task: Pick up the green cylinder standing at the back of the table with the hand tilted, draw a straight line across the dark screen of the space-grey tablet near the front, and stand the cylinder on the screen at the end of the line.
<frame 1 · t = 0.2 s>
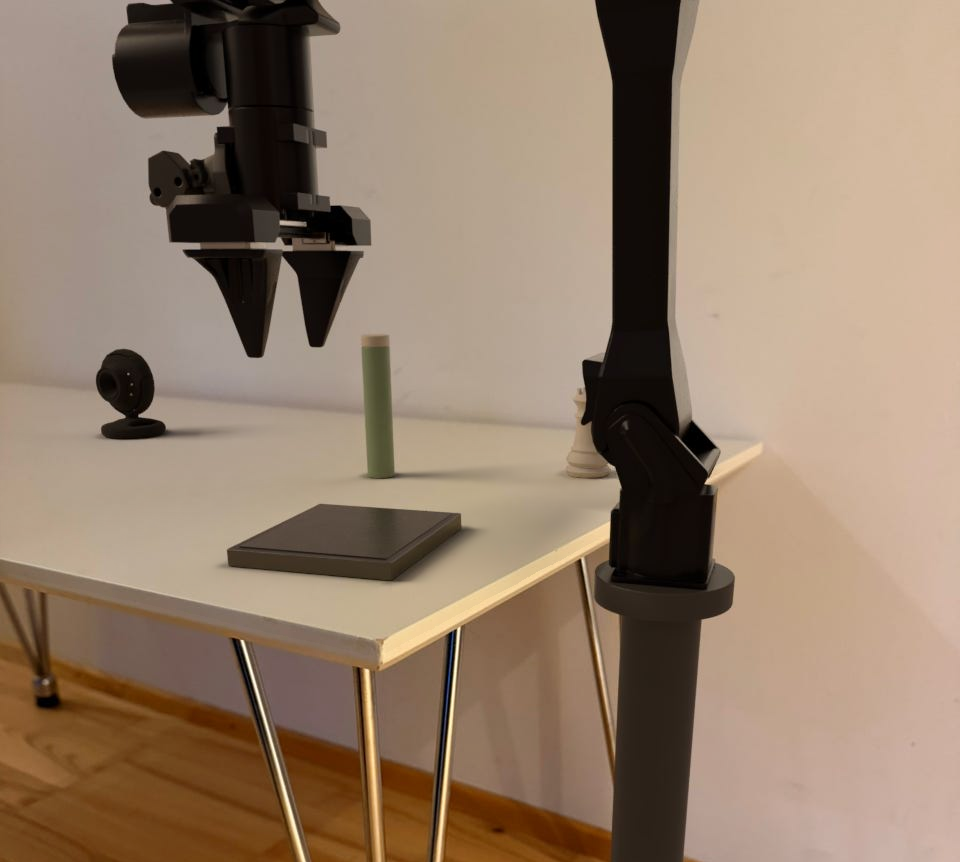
hand: (287, 352, 72), 13 cm above the table, tool pointing down, fingers open, 9 cm apart
green cylinder: (381, 475, 95), on the table
tablet: (352, 546, 71), on the table
rook chess piece: (587, 475, 95), on the table
webcam: (134, 435, 119), on the table
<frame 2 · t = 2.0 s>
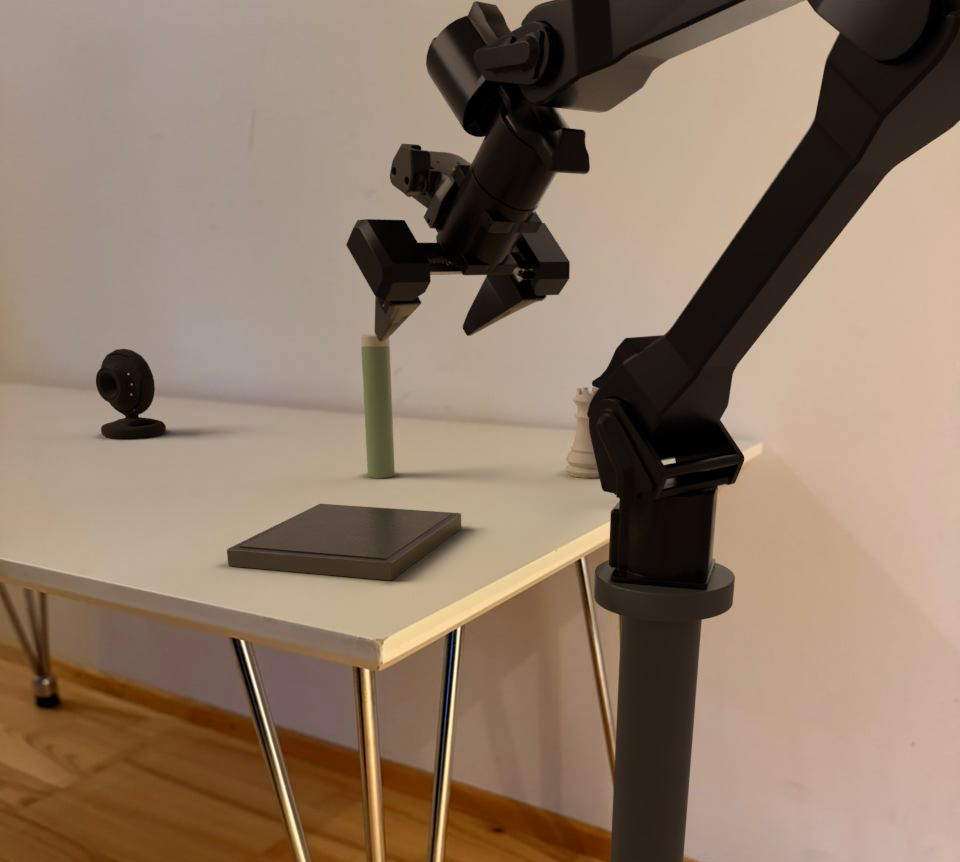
hand: (423, 334, 84), 13 cm above the table, tool tilted 45°, fingers open, 9 cm apart
nothing on the table moved.
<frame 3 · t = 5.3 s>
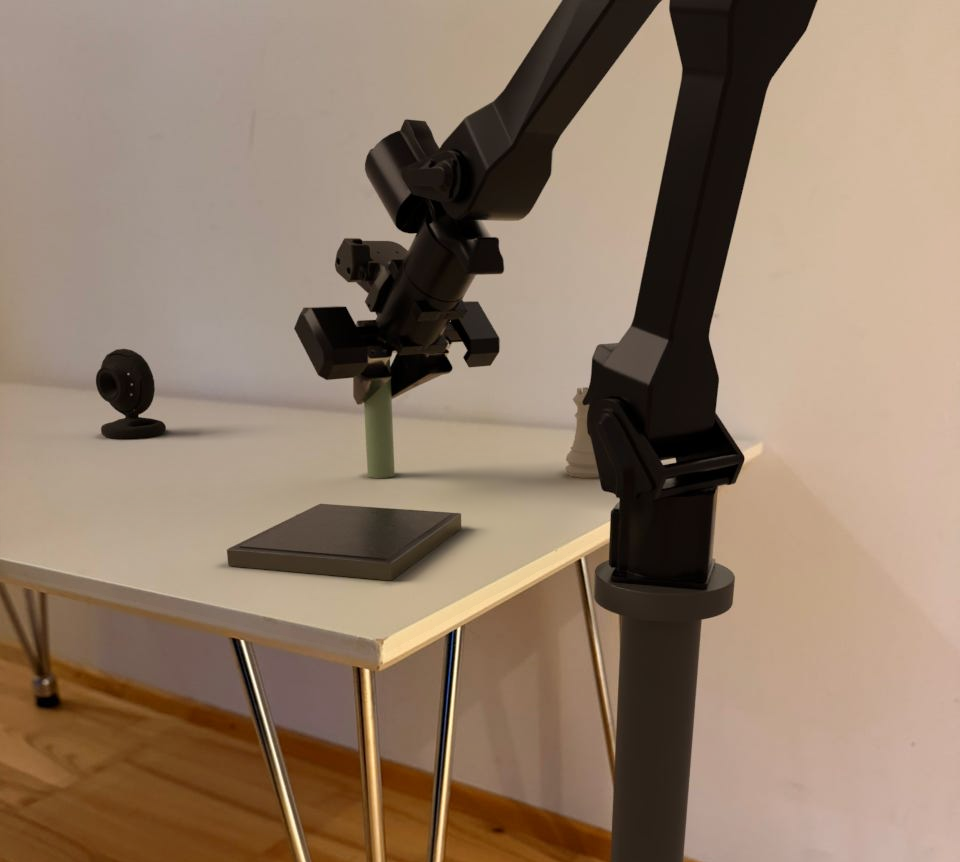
hand: (370, 399, 93), 7 cm above the table, tool tilted 45°, fingers closed on green cylinder, 2 cm apart
green cylinder: (381, 475, 95), on the table, touching gripper
everything else where it was.
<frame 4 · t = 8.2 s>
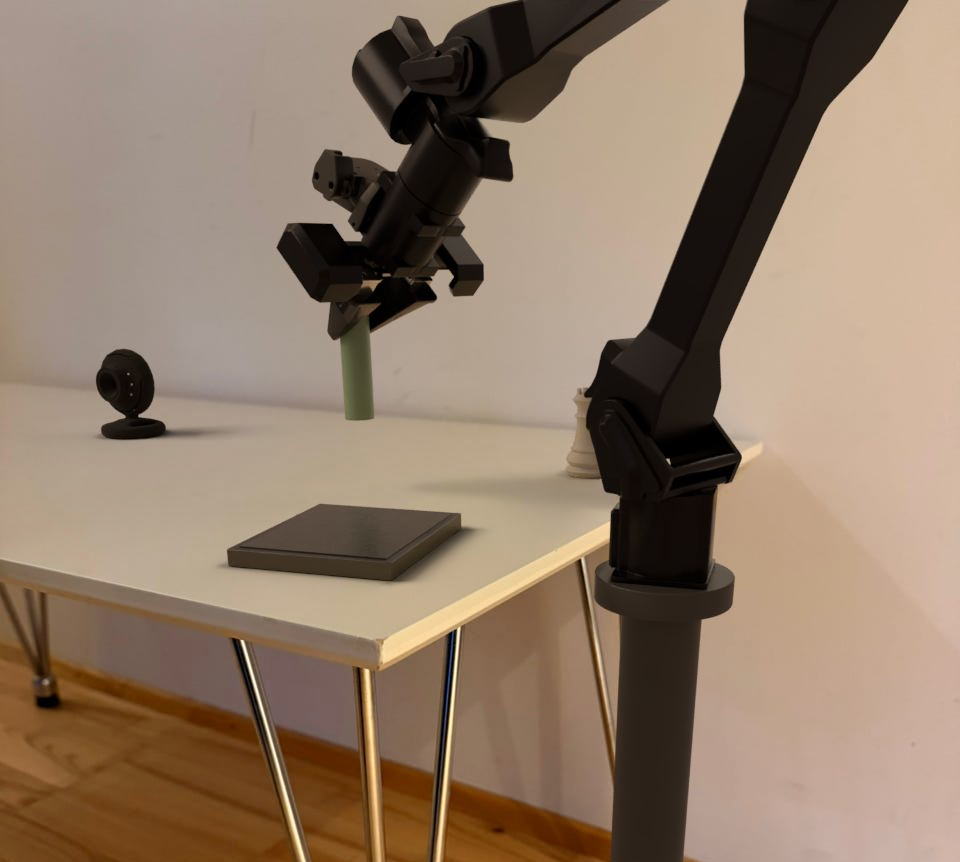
hand: (344, 335, 86), 13 cm above the table, tool tilted 45°, fingers closed on green cylinder, 2 cm apart
green cylinder: (359, 418, 87), point 6 cm above the table, touching gripper
everything else where it was.
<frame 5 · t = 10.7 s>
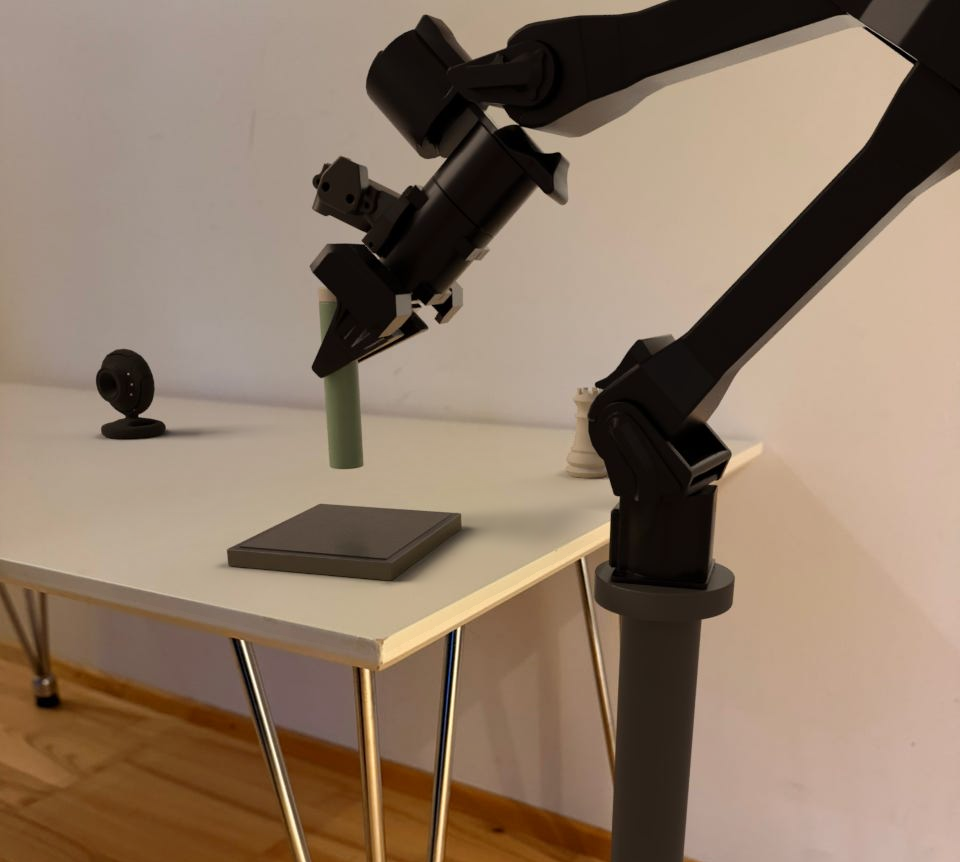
hand: (323, 371, 73), 12 cm above the table, tool tilted 45°, fingers closed on green cylinder, 2 cm apart
green cylinder: (346, 466, 76), point 5 cm above the table, touching gripper
everything else where it was.
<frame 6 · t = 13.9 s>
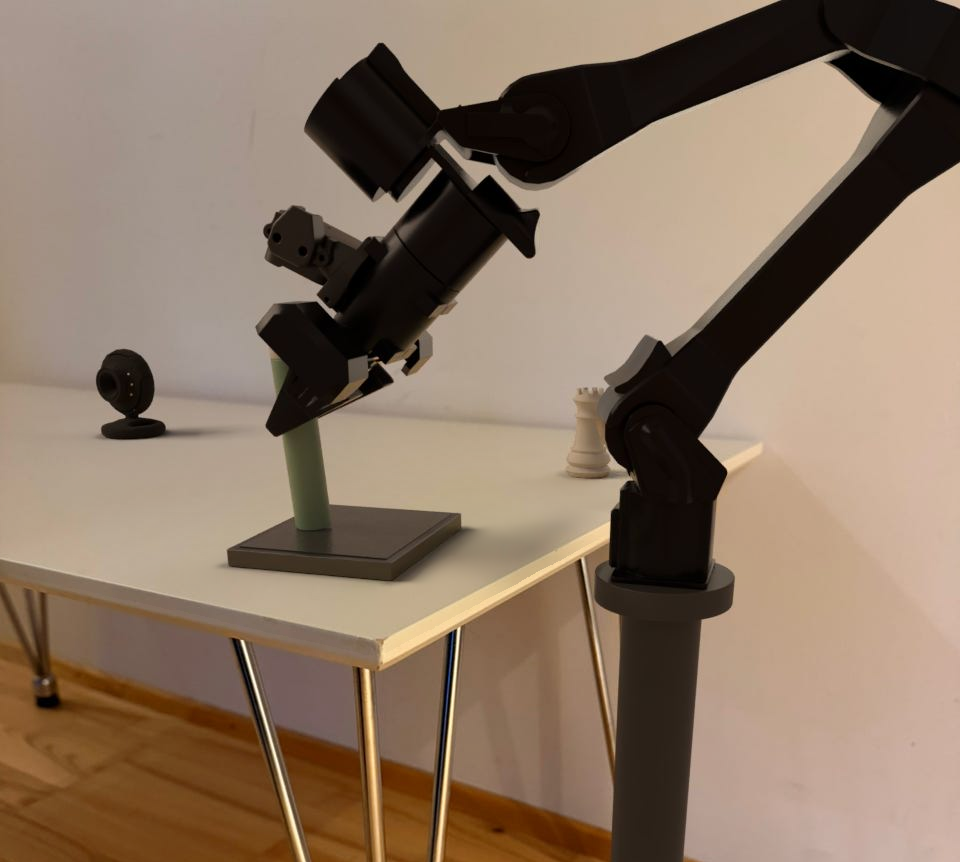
hand: (279, 428, 69), 8 cm above the table, tool tilted 45°, fingers closed on green cylinder, 3 cm apart
green cylinder: (313, 524, 71), point 1 cm above the table, tilted 6°, touching gripper
everything else where it was.
when the fingers open (8 cm above the table, at t = 16.4 s): green cylinder stays where it is, resting on tablet.
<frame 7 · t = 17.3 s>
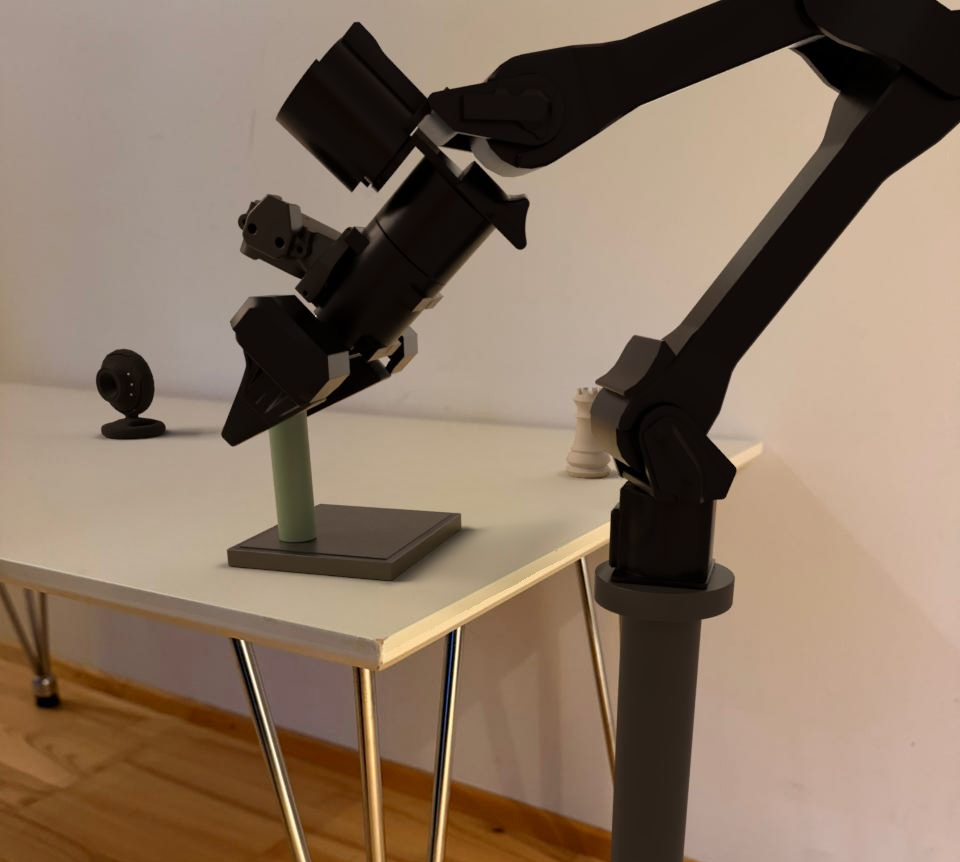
hand: (258, 429, 66), 9 cm above the table, tool tilted 45°, fingers open, 9 cm apart
green cylinder: (298, 537, 69), point 1 cm above the table, touching tablet
everything else where it was.
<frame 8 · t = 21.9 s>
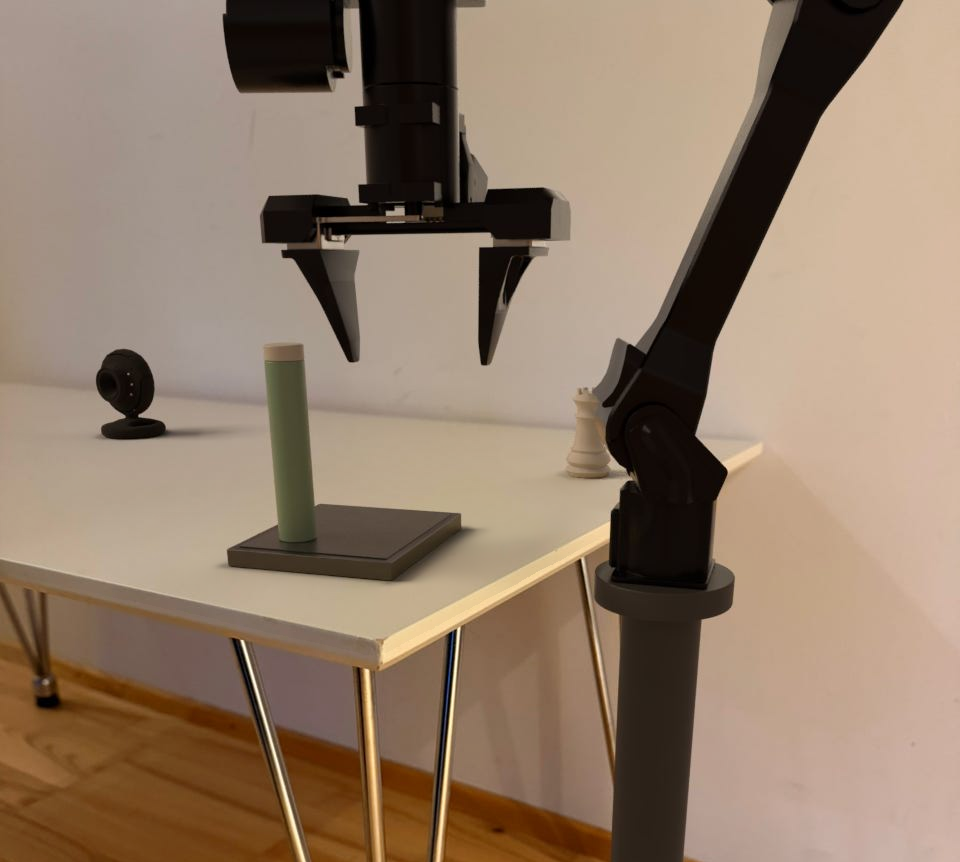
hand: (418, 363, 64), 13 cm above the table, tool pointing down, fingers open, 9 cm apart
nothing on the table moved.
at the end: green cylinder inside the target area on the tablet (4.1 cm from its centre), point 1.3 cm above the tablet's base; green cylinder moved 27.9 cm from its start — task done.
